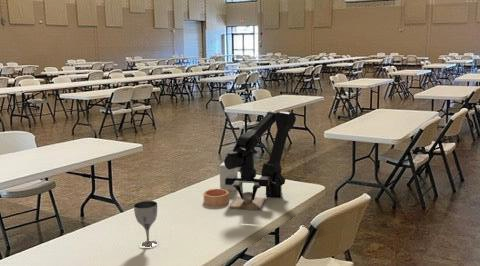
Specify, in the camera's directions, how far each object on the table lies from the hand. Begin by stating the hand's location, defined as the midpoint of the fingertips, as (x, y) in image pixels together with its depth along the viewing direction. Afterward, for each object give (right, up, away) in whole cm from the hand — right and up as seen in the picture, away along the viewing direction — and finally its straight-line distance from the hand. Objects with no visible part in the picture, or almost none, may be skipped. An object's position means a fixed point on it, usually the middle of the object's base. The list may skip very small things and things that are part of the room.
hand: (248, 199), depth 201 cm
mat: (0, -2, 0) cm, 2 cm away
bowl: (-14, -2, +5) cm, 15 cm away
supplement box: (-9, +2, +23) cm, 24 cm away
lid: (0, -2, 0) cm, 2 cm away
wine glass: (-36, -11, -36) cm, 52 cm away
